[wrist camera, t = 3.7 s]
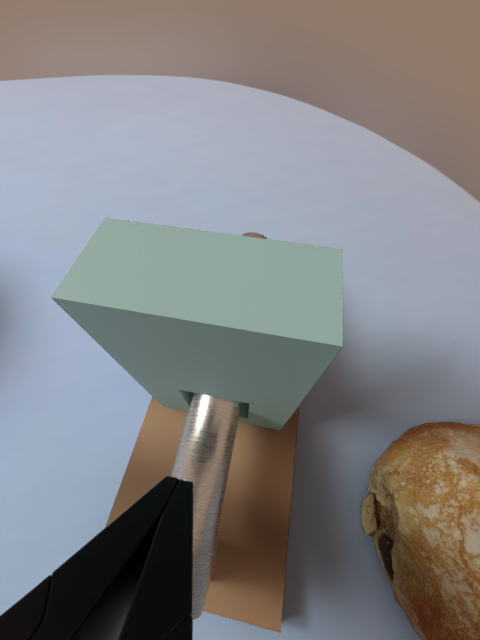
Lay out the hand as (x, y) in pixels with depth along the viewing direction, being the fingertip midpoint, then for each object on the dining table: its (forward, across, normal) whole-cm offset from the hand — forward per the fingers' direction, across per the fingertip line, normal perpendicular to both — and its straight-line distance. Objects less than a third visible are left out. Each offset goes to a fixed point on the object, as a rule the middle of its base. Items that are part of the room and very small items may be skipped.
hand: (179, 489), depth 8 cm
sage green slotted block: (+8, 0, +1) cm, 8 cm away
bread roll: (+7, -14, +6) cm, 16 cm away
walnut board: (+9, 0, +2) cm, 10 cm away
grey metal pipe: (+9, 0, +1) cm, 9 cm away
